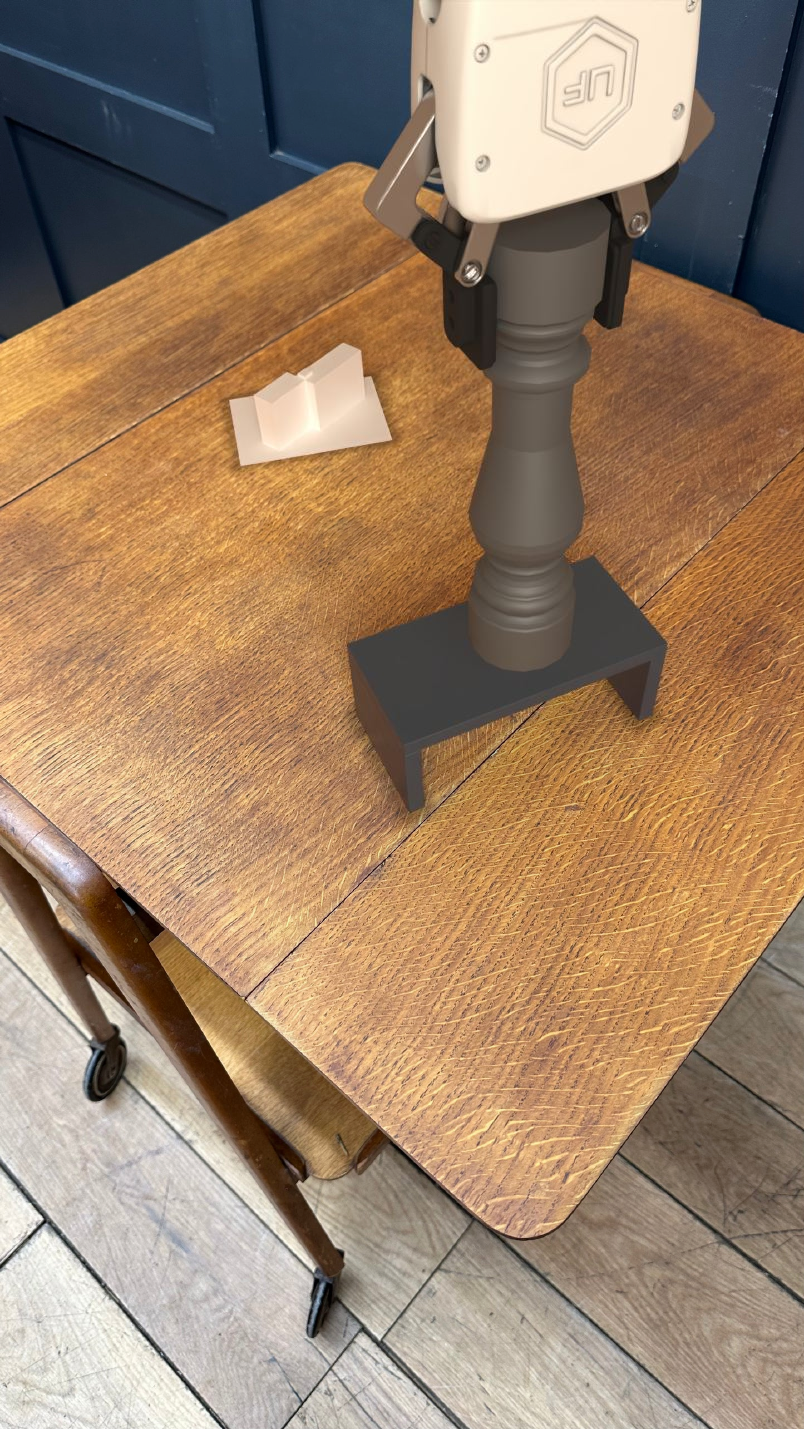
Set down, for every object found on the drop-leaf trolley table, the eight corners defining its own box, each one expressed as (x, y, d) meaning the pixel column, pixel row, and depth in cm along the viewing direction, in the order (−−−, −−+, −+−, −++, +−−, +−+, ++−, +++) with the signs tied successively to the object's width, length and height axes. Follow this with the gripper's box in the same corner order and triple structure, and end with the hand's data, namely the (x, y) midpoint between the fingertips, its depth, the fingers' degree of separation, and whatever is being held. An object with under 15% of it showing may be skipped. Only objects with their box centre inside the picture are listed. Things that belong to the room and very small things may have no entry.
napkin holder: (370, 375, 107) (366, 324, 102) (393, 439, 100) (390, 388, 95) (227, 400, 105) (216, 349, 101) (240, 467, 98) (229, 416, 94)
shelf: (584, 628, 83) (594, 554, 77) (652, 715, 77) (668, 643, 71) (356, 714, 79) (346, 643, 72) (409, 813, 73) (403, 745, 67)
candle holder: (590, 651, 61) (646, 232, 41) (496, 685, 59) (507, 270, 40) (542, 584, 64) (572, 171, 45) (451, 615, 63) (442, 204, 44)
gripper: (359, -113, 28) (397, 435, 42) (863, -211, 32) (744, 322, 46) (266, -166, 33) (328, 346, 47) (720, -247, 37) (651, 249, 51)
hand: (535, 330), depth 46 cm, fingers closed on candle holder, 5 cm apart
